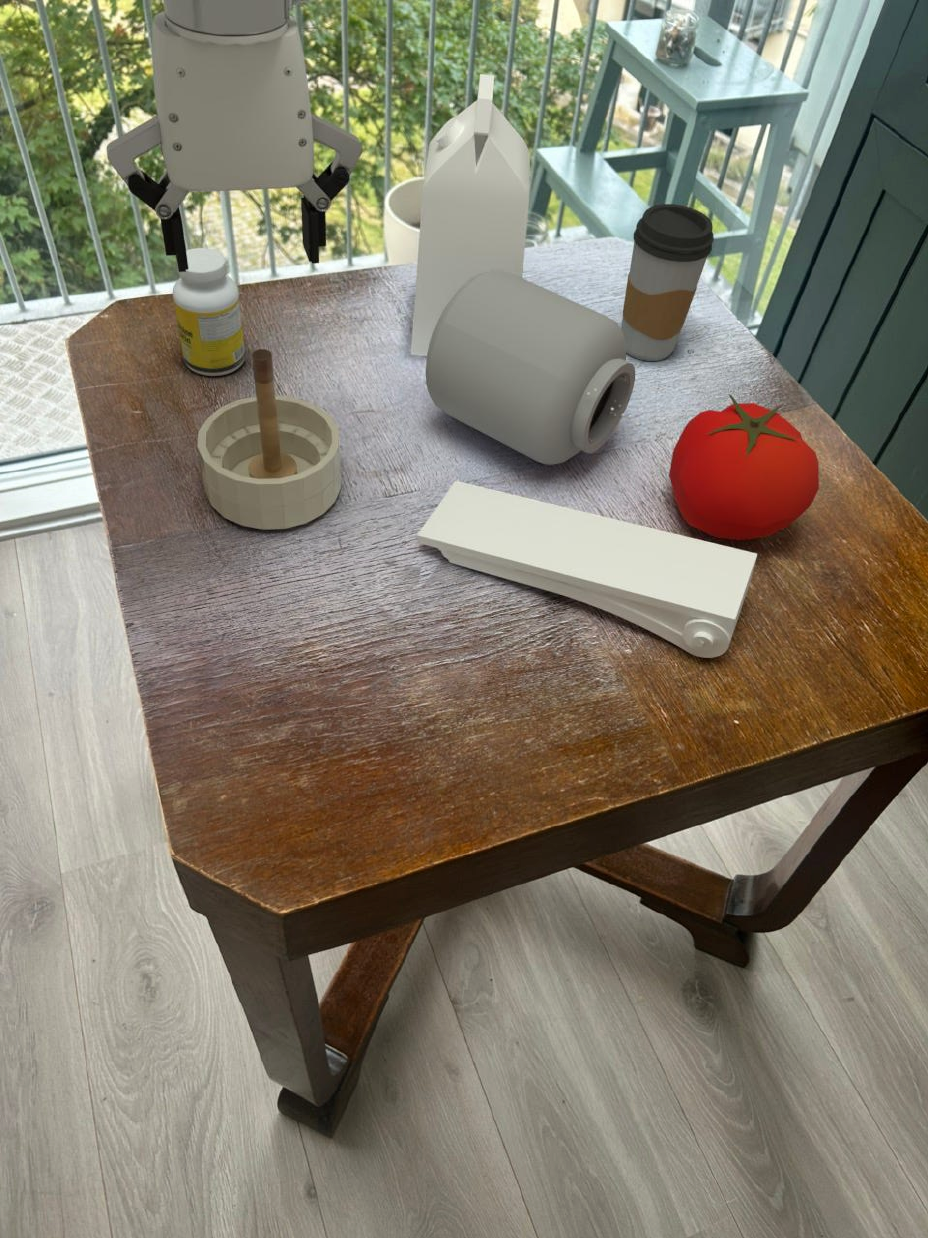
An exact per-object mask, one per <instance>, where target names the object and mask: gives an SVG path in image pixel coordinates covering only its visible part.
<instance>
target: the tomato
mask: <svg viewBox="0 0 928 1238" xmlns="http://www.w3.org/2000/svg"><path fill="white" fill-rule="evenodd" d="M728 396H729V398H730V400H731V402H732V404H730V405H728V406H727V407H725V408H724V409H722V410H720V411H718V410H713V409H707V410H704V411H700V412H699V413H698V414H696V415H695V416H694V417H692V418H691V419H690V420H689V421H688V422H687V424H686V425H685V426H684V428H683V430H682V432H681V434H680V436H679V438H678V440H677V441H676V443H675V446H674V447H673V451H672V456H671V460H670V468H669V474H668V476H669V481H670V484H671V489H672V493H673V497H674V501H675V504H676V506H677V508H678V510H679V512H680V514H681V515H682V518H683V519H684V521H685V522H686V523H687V524H688V526H691V528H692V527H693V528H694V529H697V530H698V531H699V530H700V532H703V533H705V534H706V535H709V536H712V537H714V538H717V539H718V538H719V539H727V540H736V541H745V540H752V539H760V538H764V537H768V536H771V535H773V534H775V533H777V532H779V531H781V530H783V529H786V528H787V527H789V526H790V525H791V524H792V523H794V522H795V521H797V519H799V518H800V517H801V516H803V514H804V513H805V512H806V511H808V509H809V508H810V507H811V506H812V504H813V502H814V500H815V498H816V495H817V493H818V491H819V489H820V482H819V480H820V476H819V475H820V472H819V459H818V457H817V456H818V455H817V453H816V451H815V450H814V449H813V448H812V447H811V446H810V445H809V444H808V443H807V442H806V441H805V440H804V439H803V436H802V433H801V432H800V431H799V430H798V429H797V428H796V427H795V426H793V425H792V424H791V423H790V422H789V421H788V420H786V418H784V417H783V416H782V415H781V414H780V413H778V412H777V411H778V410H779V409H780V408H781V407H782V406H783V405H784V402H783V403H781V404H780V405H779V406H777V407H775V408H774V409H772V410H771V409H768V408H767V407H764V406H762V405H760V404H757V403H754V402H751V403H750V402H748V403H747V402H745V403H738V402H737V400H736V399H735V397H734V396H733V395H731V394H730V393H728Z"/></svg>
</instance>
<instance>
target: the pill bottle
mask: <svg viewBox="0 0 928 1238" xmlns="http://www.w3.org/2000/svg"><path fill="white" fill-rule="evenodd" d="M186 254H187V261H188V270H186V272H179V270H178V265H177V264H176V267H177V273H178V276H179V278H178V279H177V280H176V281H175V283H174V285H173V287H172V299H173V305H174V310H175V311H174V312H175V317H176V323H177V328H178V333H179V334H178V335H179V339H180V346H181V347H180V348H181V353H182V354H181V355H182V359H183V362H184V364H185V366H186V367H187V368H188V369H190V371H192V372H194V373H196V374H198V375H202V376H206V377H219V376H225V375H228V374H231V373H233V372H234V371H237V370H238V369H239V368H240V367H242V365H243V364H244V361H245V358H246V349H245V340H244V331H243V324H242V323H243V321H242V314H241V302H240V294H239V293H240V292H239V287H238V286H237V283H236V282H235V280H234V279H233V278H232V277H231V276H229V275H227V273H228V267H227V266H228V265H227V260H226V257H225V255H224V254H223V253H222V252H221V251H218V250H216V249H214V248H208V247H194V248H191V249H190V248H189V249H186Z"/></svg>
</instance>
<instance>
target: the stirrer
mask: <svg viewBox="0 0 928 1238" xmlns="http://www.w3.org/2000/svg"><path fill="white" fill-rule="evenodd" d="M251 360H252V370H253V371H252V372H253V380H254V386H255V388H254V389H255V396H256V397H257V407H258V416H259V426H260V435H261V445H262V454H259V455H257V456H256V457H254V458H253V459H252V460H251V462H250V464H249V467H248V469H249V477H252V478H257V479H270V478H283V477H287V476H291V475H295V474H298V473H297V464H296V462H295V460H294V459H293V458H292V457H291V456H289V455H287V454H285V453H282V452H280V443H279V431H278V420H277V409H276V397H275V395H276V385H275V372H274V362H273V353H272V352H271V350H269V349H264V348H259V349H256V350H254V351H253V352H252V353H251Z"/></svg>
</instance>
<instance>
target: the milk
mask: <svg viewBox="0 0 928 1238" xmlns="http://www.w3.org/2000/svg"><path fill="white" fill-rule="evenodd" d="M478 81H479V82H478V89H477V98H476V100H475V101H474V102H472V103H471V104H470V105H469V106H468V107H466V108H465V109H464V110H462V111H461V112H460V113H459V114H457V115H456V116H454V117H451V118H449V120H447V121H446V122H445V124H443V126H442V127H440V129H439V130H438V131H437V132H436V134H435V135H434V136H433V138H432V139H431V141H430V142H429V145H428V153H427V157H426V158H427V159H426V165H425V171H424V177H423V186H422V194H421V195H422V196H421V208H420V209H421V210H420V222H419V223H420V224H419V236H418V237H419V238H418V247H417V248H418V251H417V261H416V262H417V263H416V277H415V278H416V279H415V289H414V301H413V304H414V305H413V318H412V319H413V320H412V328H411V329H412V331H411V344H410V356H419V357H427V353H428V348H429V343H430V340H431V337H432V334H433V331H434V329H435V326H436V324H437V322H438V319H439V318H440V316H441V314H442V312H443V310H444V309H445V307H446V306H447V304H448V303H449V301H450V300H451V299H452V297H453V296H454V295H455V294H456V293H457V292H458V290H459V289H460V288H461V287H462V286H463V285H464V284H465V283H467V282H468V281H469V280H470V279H471V278H473V277H475V276H476V275H478V274H480V273H484V272H487V271H491V270H502V271H505V272H509V273H511V274H513V275H516V276H518V277H520V278H522V279H523V273H524V262H525V250H526V240H527V229H528V228H527V227H528V216H529V207H530V192H531V191H530V190H531V189H530V188H531V187H530V186H531V151H530V150H529V148H528V145H527V144H526V142H525V140H524V139H523V137H522V136H521V135H520V133H519V132H518V131H517V130H516V129H515V127H514V126H513V125H512V124H511V122H509V120H508V119H507V118H506V116H504V115H503V113H502V112H501V111H500V109H498V108H497V106H496V105H495V104H494V103H493V98H494V85H495V75H492V74H485V73H484V74H483V73H480V74H479V80H478Z"/></svg>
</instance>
